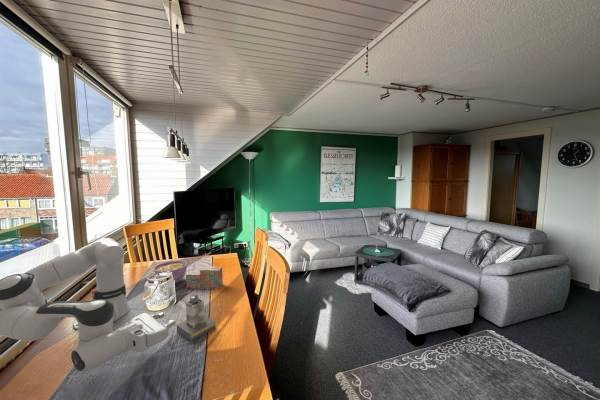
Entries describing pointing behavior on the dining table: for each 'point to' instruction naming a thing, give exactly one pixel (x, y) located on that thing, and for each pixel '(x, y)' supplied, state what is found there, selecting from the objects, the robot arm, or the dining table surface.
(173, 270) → the bowl of food
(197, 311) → the small grey lidded jar
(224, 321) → the dining table surface
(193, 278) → the stack of blocks
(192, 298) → the metal canister
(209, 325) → the block
